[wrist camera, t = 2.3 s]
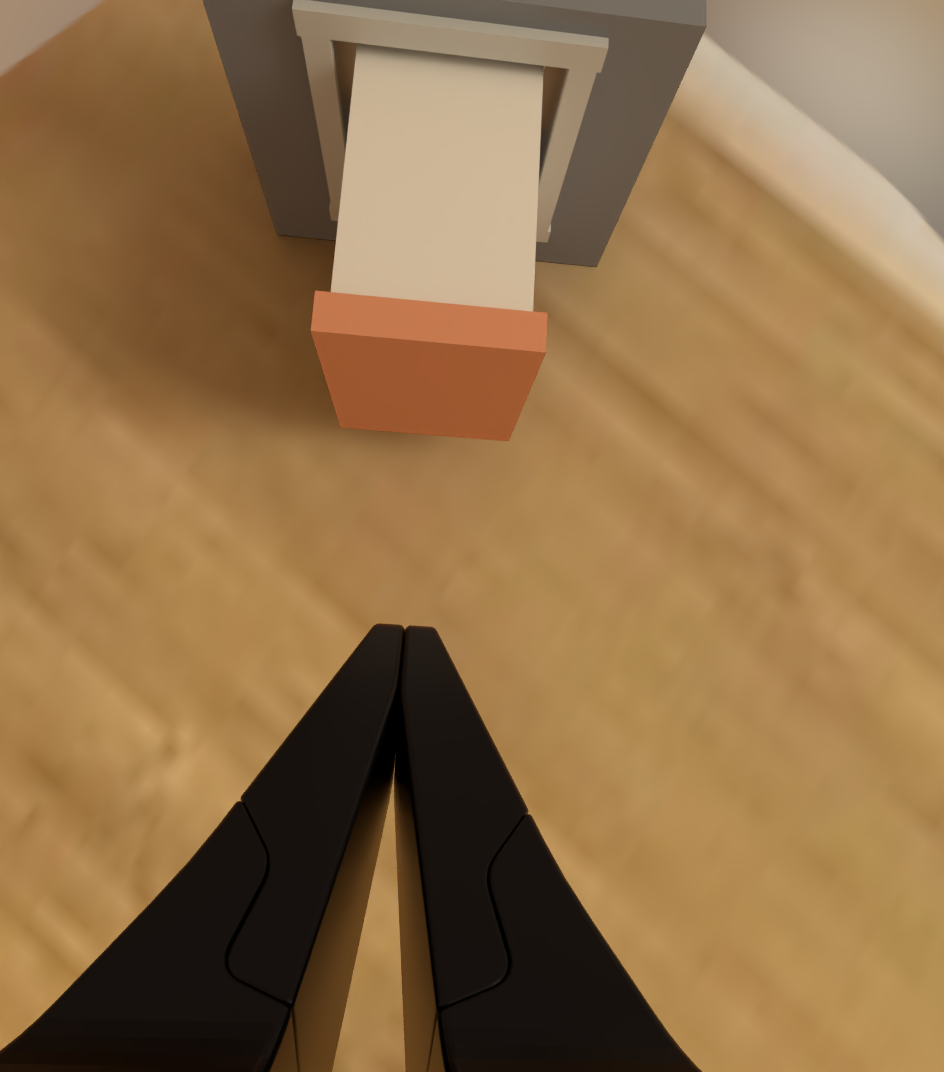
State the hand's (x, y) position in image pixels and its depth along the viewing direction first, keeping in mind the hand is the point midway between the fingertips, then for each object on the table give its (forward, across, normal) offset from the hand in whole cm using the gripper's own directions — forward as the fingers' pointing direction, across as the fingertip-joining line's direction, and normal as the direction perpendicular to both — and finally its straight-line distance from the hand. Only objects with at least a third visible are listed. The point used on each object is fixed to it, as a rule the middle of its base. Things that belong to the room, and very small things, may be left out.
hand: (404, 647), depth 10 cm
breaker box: (+22, 0, -3) cm, 22 cm away
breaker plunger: (+16, 0, -1) cm, 16 cm away
